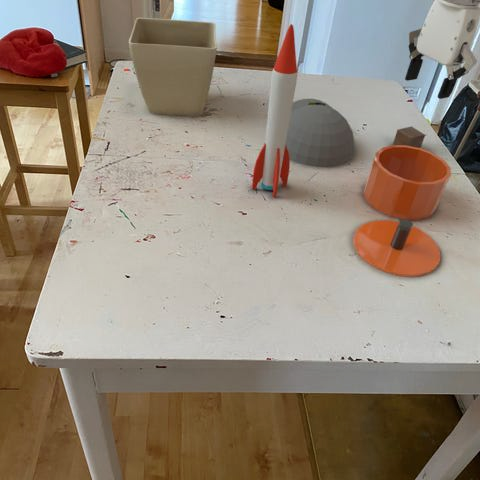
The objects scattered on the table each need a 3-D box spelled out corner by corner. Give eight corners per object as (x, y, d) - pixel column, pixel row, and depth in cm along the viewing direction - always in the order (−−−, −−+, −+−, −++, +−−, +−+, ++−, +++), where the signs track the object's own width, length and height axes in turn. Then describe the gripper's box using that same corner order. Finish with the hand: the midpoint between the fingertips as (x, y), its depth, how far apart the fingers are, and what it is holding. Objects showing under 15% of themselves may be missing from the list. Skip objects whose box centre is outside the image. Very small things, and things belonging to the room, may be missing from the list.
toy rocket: (286, 189, 97) (315, 24, 76) (274, 201, 94) (301, 32, 72) (262, 180, 99) (284, 16, 77) (250, 192, 96) (269, 23, 74)
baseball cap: (345, 112, 121) (359, 69, 110) (352, 189, 108) (368, 148, 98) (272, 106, 120) (279, 61, 109) (270, 182, 108) (277, 140, 97)
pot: (400, 176, 104) (413, 140, 98) (449, 212, 96) (467, 174, 90) (349, 191, 99) (359, 153, 92) (396, 229, 91) (411, 191, 84)
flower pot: (141, 88, 126) (136, 15, 113) (212, 92, 127) (215, 21, 115) (134, 120, 113) (127, 42, 100) (214, 124, 115) (216, 48, 102)
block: (405, 144, 115) (411, 126, 112) (418, 153, 113) (425, 134, 109) (391, 148, 113) (397, 129, 110) (404, 156, 111) (411, 138, 107)
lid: (397, 217, 93) (407, 190, 89) (456, 264, 85) (471, 236, 80) (335, 237, 87) (343, 209, 83) (392, 289, 79) (404, 262, 74)
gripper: (511, 6, 85) (469, 102, 98) (440, -19, 95) (410, 71, 107) (483, 9, 82) (444, 107, 95) (413, -18, 92) (386, 75, 104)
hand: (426, 88), depth 101 cm, fingers open, 9 cm apart
